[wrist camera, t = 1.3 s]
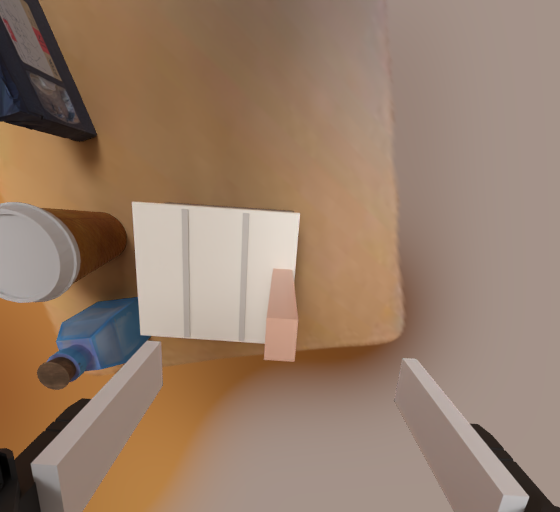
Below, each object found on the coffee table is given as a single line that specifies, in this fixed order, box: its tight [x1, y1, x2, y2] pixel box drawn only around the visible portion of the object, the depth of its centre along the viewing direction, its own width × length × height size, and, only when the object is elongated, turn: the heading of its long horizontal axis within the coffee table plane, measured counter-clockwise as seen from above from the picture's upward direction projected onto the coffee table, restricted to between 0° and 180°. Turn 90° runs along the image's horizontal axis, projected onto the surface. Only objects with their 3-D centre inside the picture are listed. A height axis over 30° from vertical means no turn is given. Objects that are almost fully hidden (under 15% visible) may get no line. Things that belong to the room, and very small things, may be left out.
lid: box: [132, 202, 300, 362], centre depth 23 cm, size 15×17×13 cm
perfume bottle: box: [37, 297, 151, 390], centre depth 32 cm, size 6×6×12 cm
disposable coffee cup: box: [0, 202, 126, 303], centre depth 29 cm, size 10×10×12 cm
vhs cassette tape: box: [0, 0, 97, 142], centre depth 25 cm, size 18×3×10 cm, turn 16°
